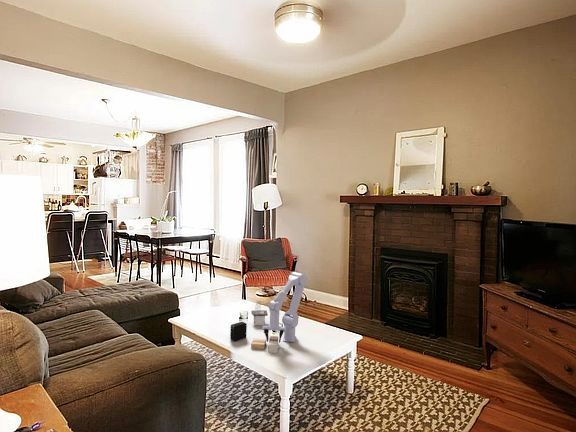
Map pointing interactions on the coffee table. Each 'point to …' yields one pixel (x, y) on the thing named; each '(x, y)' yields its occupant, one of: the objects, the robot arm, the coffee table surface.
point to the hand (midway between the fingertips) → (273, 341)
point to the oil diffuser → (259, 316)
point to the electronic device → (238, 331)
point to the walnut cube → (273, 338)
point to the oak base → (258, 343)
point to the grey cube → (273, 346)
